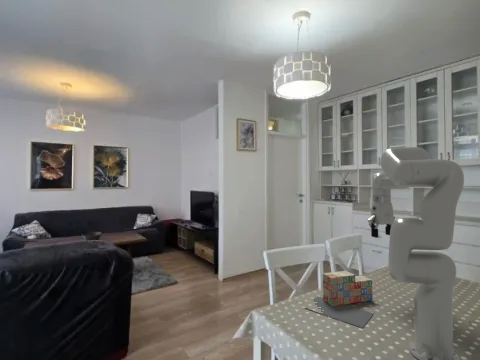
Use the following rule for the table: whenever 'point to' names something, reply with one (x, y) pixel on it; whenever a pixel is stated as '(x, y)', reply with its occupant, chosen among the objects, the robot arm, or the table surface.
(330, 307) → the mat
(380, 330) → the table surface
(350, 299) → the stack of blocks
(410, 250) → the robot arm
